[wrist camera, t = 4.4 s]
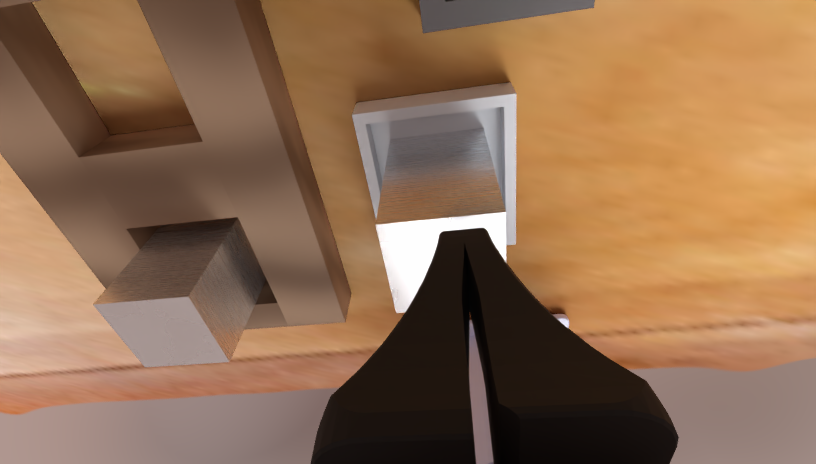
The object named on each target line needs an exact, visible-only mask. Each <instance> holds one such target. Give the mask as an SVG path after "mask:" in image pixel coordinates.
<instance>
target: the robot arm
mask: <svg viewBox="0 0 816 464" xmlns="http://www.w3.org/2000/svg"><path fill="white" fill-rule="evenodd" d="M470 314H471V319H472V320H470ZM677 443H678V435H677V432H676V430H675V427H674V425H673V423H672V421H671V419H670V417H669V415H668V413H667V412H666V410H665V408H664V407H663V405H662V404H661V402H660V400H659V399H658V397H657V396H656V394H655V393H654V391H653V390H652V389H651V387H650V386H649V384H648V383H647V381H645V380H644V379H642V378H640V377H639V376H637V375H635V374H634V373H632V372H630V371H629V370H627V369H625V368H624V367H622V366H620V365H619V364H617V363H615V362H614V361H612V360H610V359H609V358H607V357H606V356H604V355H603V354H601V353H600V352H599V351H597V350H596V349H594V348H593V347H591V346H590V345H589V344H588V343H586V342H585V341H584V340H582V339H581V338H580V337H579V336H577V335H576V334H575V333H574V332H572V331H571V330H570V329H569V319H568V317H567V316H566V315H564V314H551V313H550V312H549V311H548V310H547V309H546V308H545V307H544V306H543V305H542V304H541V303H540V302H539V301H538V300H537V299H536V298H535V297H534V296H533V295H532V294H531V293H530V291H529V290H528V289H527V288H526V287H525V286H524V285H523V283H522V282H521V281H520V280H519V279H518V277H517V276H516V275H515V274H514V272H513V271H512V270H511V268H510V267H509V266H508V264H507V263H506V262H505V260H504V259H503V257H502V256H501V254H500V253H499V251H498V250H497V248H496V246H495V245H494V243H493V241H492V239H491V237H490V235H489V233H488V231H487V230H486V229H485V228H473V229H462V230H451V231H442V232H441V233H440V234H439V238H438V243H437V247H436V250H435V253H434V256H433V258H432V261H431V264H430V266H429V268H428V271H427V273H426V275H425V278H424V280H423V282H422V284H421V285H420V287H419V289H418V291H417V293H416V295H415V297H414V299H413V301H412V302H411V304H410V306H409V307H408V309H407V311H406V312H405V314H404V315H403V317H402V318H401V320H400V321H399V323H398V324H397V325H396V327H395V328H394V329H393V331H392V332H391V333H390V335H389V336H388V337H387V339H386V340H385V341H384V342H383V344H382V345H381V346H380V347H379V348H378V349H377V351H376V352H375V353H374V354H373V355H372V356H371V357H370V358H369V359H368V361H367V362H366V363H365V364H364V365H363V366H362V367H361V368H360V369H359V370H358V371H357V372H356V373H355V374H354V375H353V376H352V377H351V378H350V379H349V380H348V381H347V382H346V383H344V384H343V385H342V386H341V387H340V388H339V389H338V390H337V391H336V392H335V393H334V394H332V395H331V397H330V399H329V401H328V404H327V407H326V409H325V411H324V414H323V417H322V420H321V422H320V425H319V428H318V431H317V436H316V440H315V445H314V450H313V455H312V460H311V464H670V461H671V459H672V457H673V454H674V452H675V450H676V448H677Z"/></svg>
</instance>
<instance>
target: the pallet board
mask: <svg viewBox="0 0 816 464" xmlns="http://www.w3.org/2000/svg"><path fill="white" fill-rule="evenodd" d="M34 1H39V0H0V154H1V155H2V156H3V157H4V159H5V160H6V161H7V163H8V164H9V165H10V166H11V168H12V169H13V170H14V172H15V173H16V174H17V175H18V177H19V178H20V179H21V180H22V182H23V183H24V184H25V186H26V187H27V188H28V189H29V191H30V192H31V193H32V195H33V196H34V197H35V198H36V200H37V201H38V202H39V204H40V205H41V206H42V207H43V209H44V210H45V211H46V213H47V214H48V215H49V216H50V218H51V219H52V220H53V222H54V223H55V224H56V225H57V227H58V228H59V229H60V231H61V232H62V233H63V234H64V236H65V237H66V238H67V240H68V241H69V242H70V243H71V245H72V246H73V247H74V249H75V250H76V251H77V252H78V254H79V255H80V256H81V257H82V259H83V260H84V261H85V263H86V264H87V265H88V266H89V268H90V269H91V270H92V272H93V273H94V274H95V275H96V277H97V278H98V279H99V281H100V282H101V283H102V284H103V286H104V287H105V288H106V289H107V288H108V287H109V285H110V284H111V283H112V282H113V281H114V280H115V278H116V277H117V276H118V275H119V274H120V273H121V271H122V270H123V269H124V268H125V267H126V266H127V264H128V263H129V262H130V261H131V260H132V259H133V257H134V256H135V255H136V254H137V253H138V252H139V250H140V249H141V248H142V247H143V246H144V245H145V243H146V242H147V241H148V240H149V239H150V238H151V236H152V235H153V234H154V233H155V232H156V231H157V229H158V228H159V227H160V226H161V225H167V224H176V223H186V222H195V221H205V220H215V219H224V218H234V217H238V218H239V221H240V223H241V225H242V227H243V229H244V231H245V234H246V236H247V238H248V240H249V242H250V244H251V246H252V249H253V251H254V253H255V255H256V257H257V259H258V262H259V264H260V266H261V268H262V270H263V272H264V274H265V277H266V281H265V283H264V285H263V288H262V290H261V292H260V294H259V297H258V299H257V301H256V303H255V306H254V308H253V310H252V312H251V315H250V317H249V319H248V321H247V324H246V326H245V328H244V330H245V329H259V328H273V327H287V326H301V325H315V324H329V323H343V322H346V317H347V312H348V307H349V302H350V297H351V291H350V288H349V285H348V281H347V278H346V275H345V272H344V269H343V265H342V262H341V259H340V256H339V253H338V249H337V246H336V243H335V240H334V237H333V233H332V230H331V227H330V224H329V221H328V218H327V214H326V211H325V208H324V205H323V202H322V198H321V195H320V192H319V189H318V186H317V182H316V179H315V176H314V173H313V170H312V167H311V163H310V160H309V157H308V154H307V151H306V147H305V144H304V141H303V138H302V135H301V131H300V128H299V125H298V122H297V119H296V115H295V112H294V109H293V106H292V103H291V100H290V96H289V93H288V90H287V87H286V84H285V80H284V77H283V74H282V71H281V68H280V64H279V61H278V58H277V55H276V52H275V48H274V45H273V42H272V39H271V36H270V33H269V29H268V26H267V23H266V20H265V17H264V13H263V10H262V7H261V4H260V1H259V0H137V1H138V3H139V5H140V7H141V9H142V11H143V14H144V16H145V18H146V20H147V22H148V24H149V27H150V29H151V31H152V33H153V35H154V37H155V39H156V42H157V44H158V46H159V48H160V50H161V52H162V55H163V57H164V59H165V61H166V63H167V65H168V67H169V70H170V72H171V74H172V76H173V78H174V80H175V83H176V85H177V87H178V89H179V91H180V93H181V96H182V98H183V100H184V102H185V104H186V106H187V108H188V111H189V113H190V115H191V117H192V119H193V121H194V124H193V125H185V126H178V127H170V128H163V129H155V130H148V131H140V132H133V133H125V134H118V135H110V134H109V132H108V130H107V129H106V127H105V125H104V124H103V122H102V120H101V119H100V117H99V115H98V113H97V112H96V110H95V108H94V107H93V105H92V103H91V102H90V100H89V98H88V97H87V95H86V93H85V92H84V90H83V88H82V87H81V85H80V83H79V82H78V80H77V78H76V77H75V75H74V73H73V72H72V70H71V68H70V66H69V65H68V63H67V61H66V60H65V58H64V56H63V55H62V53H61V51H60V50H59V48H58V46H57V45H56V43H55V41H54V40H53V38H52V36H51V35H50V33H49V31H48V30H47V28H46V26H45V25H44V23H43V21H42V19H41V18H40V16H39V14H38V13H37V11H36V9H35V8H34V6H33V4H32V3H31V2H34Z"/></svg>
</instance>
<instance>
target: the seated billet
mask: <svg viewBox="0 0 816 464" xmlns="http://www.w3.org/2000/svg"><path fill="white" fill-rule="evenodd" d="M265 281H266V277H265V274H264V272H263V270H262V268H261V266H260V264H259V262H258V259H257V257H256V255H255V253H254V251H253V249H252V246H251V244H250V242H249V240H248V238H247V236H246V234H245V231H244V229H243V227H242V225H241V223H240V221H239V218H238V217H234V218H224V219H215V220H205V221H195V222H186V223H176V224H167V225H161V226H160V227H159V228H158V229H157V231H156V232H155V233H154V234H153V235H152V236H151V238H150V239H149V240H148V241H147V242H146V243H145V245H144V246H143V247H142V248H141V249H140V250H139V252H138V253H137V254H136V255H135V256H134V257H133V259H132V260H131V261H130V262H129V263H128V264H127V266H126V267H125V268H124V269H123V270H122V271H121V273H120V274H119V275H118V276H117V277H116V278H115V280H114V281H113V282H112V283H111V284H110V285H109V287H108V288H107V289H106V290H105V291H104V292H103V294H102V295H101V296H100V297H99V298H98V299H97V301H96V302H95V303H94V304H93V305H94V306H95V308H96V309H97V310H98V311H99V312H100V314H101V315H102V316H103V317H104V318H105V320H106V321H107V322H108V323H109V324H110V326H111V327H112V328H113V329H114V330H115V332H116V333H117V334H118V335H119V336H120V338H121V339H122V340H123V341H124V343H125V344H126V345H127V346H128V347H129V349H130V350H131V351H132V352H133V353H134V355H135V356H136V357H137V358H138V359H139V361H140V362H141V363H142V364H143V365H144V367H157V366H173V365H189V364H204V363H220V362H230V360H231V358H232V355H233V353H234V351H235V349H236V346H237V344H238V342H239V340H240V337H241V335H242V333H243V331H244V328H245V326H246V324H247V321H248V319H249V317H250V315H251V312H252V310H253V308H254V306H255V303H256V301H257V299H258V297H259V294H260V292H261V290H262V288H263V285H264V283H265Z"/></svg>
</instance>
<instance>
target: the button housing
mask: <svg viewBox="0 0 816 464" xmlns="http://www.w3.org/2000/svg"><path fill="white" fill-rule="evenodd" d="M594 2H595V0H419V3H420V11H421V20H422V29H423V33H428V32H435V31H441V30H448V29H455V28H461V27H468V26H475V25H481V24H488V23H495V22H501V21H508V20H514V19H521V18H528V17H534V16H541V15H548V14H554V13H561V12H568V11H574V10H581V9H588V8H594Z"/></svg>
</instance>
